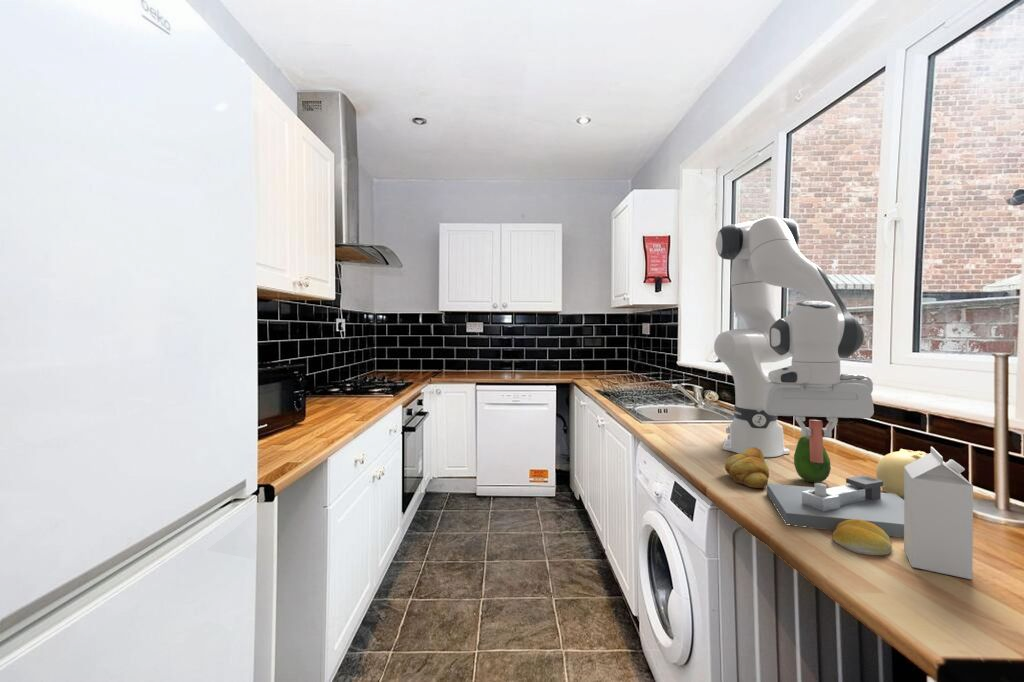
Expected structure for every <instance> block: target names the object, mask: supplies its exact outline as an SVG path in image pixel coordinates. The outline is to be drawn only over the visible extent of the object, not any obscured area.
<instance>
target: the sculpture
mask: <svg viewBox="0 0 1024 682" xmlns="http://www.w3.org/2000/svg"><path fill="white" fill-rule="evenodd" d="M927 454H928V453H926V452H925V451H921V450H917V451H916V450H915V451H914V450H910V449H903V448H900V449H899V451H892V452H890V453H887V454H885V455H884V456H883V457H881V458H880V459H879V461H878V462H877V464H876V468H875V475H876V479H879V480H881V481H883V486H881V489H882V490H883V491H884V492H885V493H893V494H897V495H898V496H899V497H901V498H902V499H904V466H906V465H908V464H910V463H912V462H914V461H916V460H918V459H919V458H921V457H923V456H925V455H927Z"/></svg>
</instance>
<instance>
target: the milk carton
mask: <svg viewBox="0 0 1024 682" xmlns="http://www.w3.org/2000/svg"><path fill="white" fill-rule="evenodd" d="M965 470H966V469H965V467H963V466H962V465H961V464H960V463H958V462H956V461H955V460H954V459H952V458H951V459H950V458H949V460H948V461H946V462H945V461H944V458H943V456H942V455H941V454H940V453H939V452H938V451H937V450H936V449H935V448H934V447H933V446H930V453H927V455H925V456H923V457H921V458H919V459H918V460H916V461H914V462H912V463H910V464H908V465H906V466H904V498H903V500H904V537H903V549H904V551H905V554H906V557H907V559H908V560H909V564H910V566H911V568H915V569H921V570H925V571H929V572H935V573H938V574H944V575H949V576H954V577H957V578H962V579H967V580H973V571H974V570H973V566H974V565H973V562H974V561H973V559H974V558H973V556H974V555H973V551H974V550H973V548H974V545H973V544H974V540H973V539H974V535H973V534H974V530H973V529H974V527H973V526H974V487H973V484H971V483H970V482H969V481H968V480H967V478H965V477H964V476H963V475H962V474H961V473H962V472H964V471H965Z"/></svg>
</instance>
